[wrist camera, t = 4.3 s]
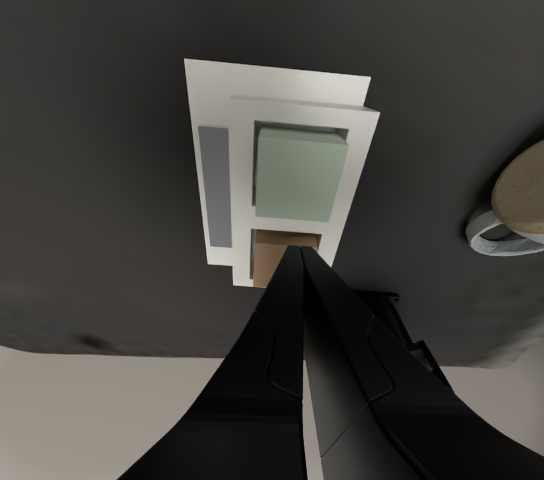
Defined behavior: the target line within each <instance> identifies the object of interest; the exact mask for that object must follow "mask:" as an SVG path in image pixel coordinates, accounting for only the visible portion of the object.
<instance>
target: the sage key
mask: <svg viewBox="0 0 544 480" xmlns="http://www.w3.org/2000/svg"><path fill="white" fill-rule="evenodd" d="M348 148H349V144H348V143H347V142H346V141H345V140H343V139H342V138H341V137H340V136H339V135H338V134H337V133H336V132H326V131H315V130H304V129H293V128H282V127H271V126H262V128H261V131H260V134H259V138H258V162H257V186H256V210H255V216H256V217H268V218H281V219H293V220H306V221H318V222H329V219H330V215H331V212H332V208H333V204H334V200H335V197H336V193H337V189H338V185H339V182H340V178H341V174H342V170H343V166H344V163H345V159H346V155H347V151H348Z"/></svg>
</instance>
